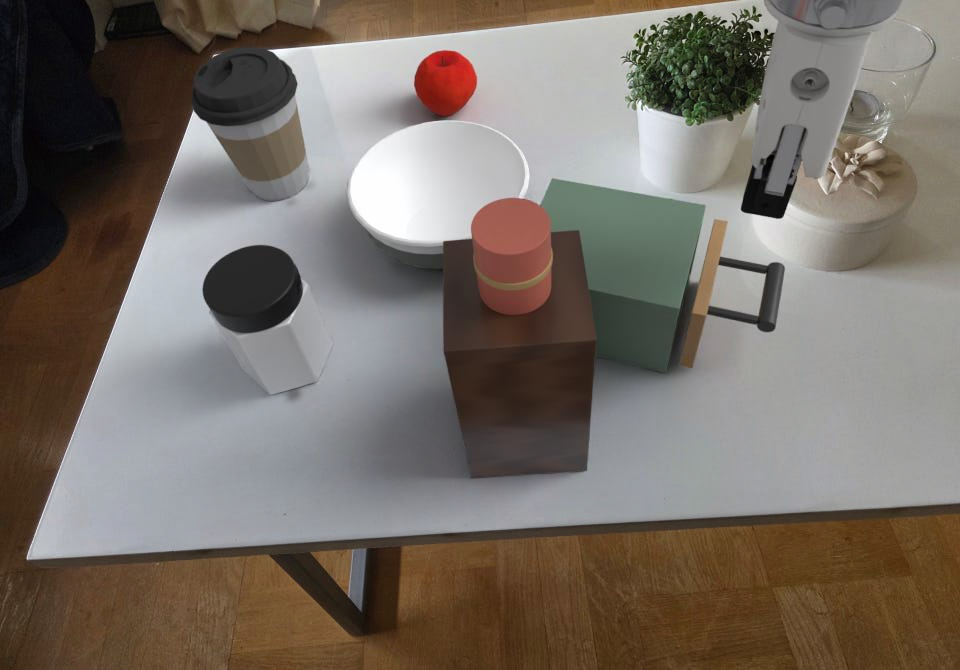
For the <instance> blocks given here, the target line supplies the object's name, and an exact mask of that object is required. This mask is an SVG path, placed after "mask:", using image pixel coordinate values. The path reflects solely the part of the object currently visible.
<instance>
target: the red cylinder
mask: <svg viewBox="0 0 960 670" xmlns="http://www.w3.org/2000/svg"><path fill="white" fill-rule="evenodd" d="M540 205H541V204H538V203H537V202H535V201H532V200H530V199H527V198H523V199H522V198H504V199H499V200H496V201H493V202H491V203H489V204H487V205H485V206H484V207H483V208H481V209H480V210H479V211H478V212H477V213H476V215H475V216H474V218H473V221H472V224H471V234H472V241H473V249H474V254H473V261H474V267H475V271H476V273H477V279H478V287H479V293H480V297H481V299H482V300H483V302H484V303H485V304H486V305H487V306H488V307H489V308H491V309H492V310H494V311H496V312H498V313H502V314H506V315H521V314H526V313H529V312H532V311H534V310H536V309H537V308H539V307H540V306H541V305H543V304H544V302H545V301H546V300H547V299H548V297H549V295H550V292H551V266H552V262H553V252H552V248H551V222H550V218H549V216H548V214H547V212H546V211H545V210H544V209H543V208H542V207H541V206H540Z"/></svg>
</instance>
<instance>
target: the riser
mask: <svg viewBox="0 0 960 670" xmlns="http://www.w3.org/2000/svg"><path fill="white" fill-rule="evenodd" d="M551 248H552V252H553V262H552V266H551V292H550V295H549V297H548V299H547V300H546V301H545V302H544V304H543V305H541V306H540V307H539V308H537V309H536V310H534V311H532V312H529V313H526V314H521V315H506V314H502V313H498V312H496V311H494V310H492V309H491V308H489V307H488V306H487V305H486V304H485V303H484V302H483V300H482V299H481V297H480V293H479V287H478V279H477V273H476V271H475V267H474V261H473V254H474V249H473V241H472V239H463V240H451V241H443V268H442V325H443V327H442V331H443V333H442V334H443V335H442V336H443V339H442V340H443V341H442V342H443V343H442V345H443V346H442V349H443V350H442V351H443V357H444V361H445V366H446V369H447V374H448V379H449V385H450V388H451V393H452V399H453V402H454V403H453V404H454V408H455V411H456V417H457V421H458V425H459V430H460V435H461V439H462V444H463V449H464V453H465V457H466V462H467V467H468V472H469V476H470V479H480V478H481V479H483V478H495V477H496V478H497V477H510V476H511V477H512V476H513V477H514V476H526V475H540V474H541V475H543V474H555V473H568V472H569V473H572V472H585V471H586V472H587V471H588V464H589V463H588V462H589V450H590V438H591V437H590V436H591V425H592V424H591V422H592V410H593V398H594V397H593V396H594V382H595V371H596V370H595V369H596V358H597V357H596V344H597V338H596V331H595V325H594V319H593V313H592V306H591V300H590V294H589V287H588V281H587V275H586V269H585V262H584V256H583V250H582V243H581V237H580V231H579V230H571V231H559V232H551Z"/></svg>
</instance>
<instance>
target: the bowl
mask: <svg viewBox="0 0 960 670" xmlns="http://www.w3.org/2000/svg"><path fill="white" fill-rule="evenodd" d="M529 169H530V168H529V163H528V161H527V159H526V157H525V155H524V152H523V151H522V150H521V149H520V147H518V145H517V144H516V142H514V141H513V140H512V139H511V138H510V137H508V136H507V135H505V134H504V133H502V132H501V131H499V130H496V129H494V128H492V127H490V126H487V125H484V124H480V123H478V122H471V121H466V120H465V121H464V120H447V119H445V120H433V121H427V122H422V123H418V124H414V125H410V126H406V127H404V128H402V129H398V130H396V131H394V132H392V133H390V134H389V135H386V136H384V137H383V138H381V139H380V140H378V141H377V142H376V143H374V144H373V145H371V146H370V147H369V148H368V149H367V150H366V151H365V152H364V153H363V154H362V155H361V156H360V157H359V159H358V160H357V162H356V164H355V165H354V167H353V168H352V170H351V172H350V175H349V178H348V181H347V188H346V198H347V203H348V207H349V209H350V211H351V212H352V215H353V216H354V218H355V219H356V221H357V222H359V223H360V224H361V226H362V227H363V229H364V230H365V232H366V234H367V236H368V237H369V239H370V240H371V241H372V243H373V244H374V245H375V246H376V247H377V248H378V249H380V250H381V251H383V252H384V253H386V254H387V255H389V256H390V257H391V258H392V259H395V260H396V261H398V262H400V263H403V264H406V265H408V266H412V267H416V268H421V269H433V270H435V269H436V270H443V241H451V240H463V239H472V234H471V224H472V221H473V218H474V216H475V215H476V213H477V212H478V211H479V210H480V209H481V208H483V207H484V206H485V205H487V204H489V203H491V202H493V201H496V200H499V199H504V198H522V199H525V196H526V194H527V191H528V188H529V183H530V170H529Z"/></svg>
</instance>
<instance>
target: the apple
mask: <svg viewBox="0 0 960 670" xmlns="http://www.w3.org/2000/svg"><path fill="white" fill-rule="evenodd" d="M413 87H414V90H415V94H416V96H417V98H418V100H420V102H421V103H422V105H423V106H424V107H425V108H426V109H428V110H429V111H431V112H432V113H434V114H436V115H438V116H442V117H445V116H447V117H448V116H452V115H454V114H456V113H458V112H459V111H460V110H462V109H463V108H464V107H465V106H466V105H467V104H468V102H469V101H470V100H471V98H472V97H473V95H474V94H475V91H476V89H477V87H478V75H477V73H476V71H475V68H474V65H473V64H472V62H471V61H470V60H469V59H468V58H466V56H464V55H463V54H461V53H460V52H459V51H456V50H446V49H444V50H443V49H442V50H437V51H434V52H432V53H429V55H427V56H426V57H424V58H423V59H422V60H421V61H420V63H419V64H418V66H417V68H416V71H415V74H414V80H413Z"/></svg>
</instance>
